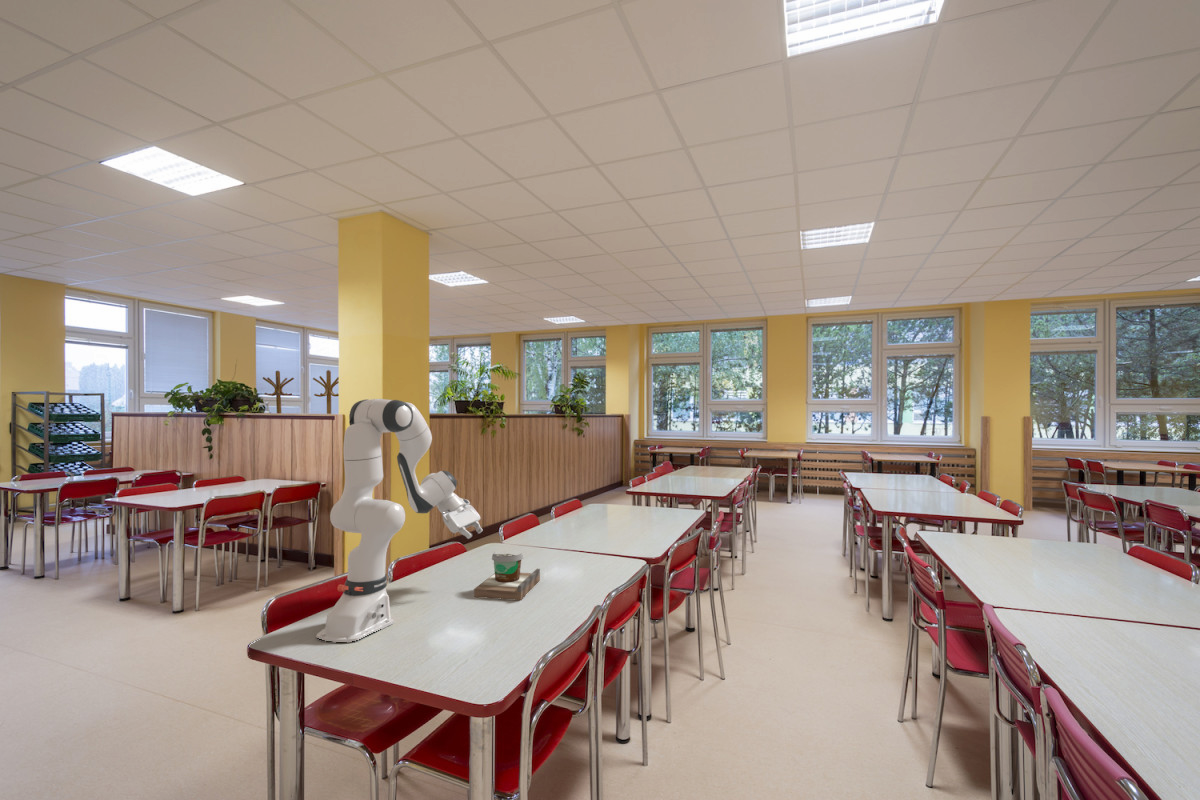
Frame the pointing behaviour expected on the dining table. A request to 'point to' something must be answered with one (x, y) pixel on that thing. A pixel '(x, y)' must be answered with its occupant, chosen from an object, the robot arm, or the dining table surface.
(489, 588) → the block
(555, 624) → the dining table surface
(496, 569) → the food container
